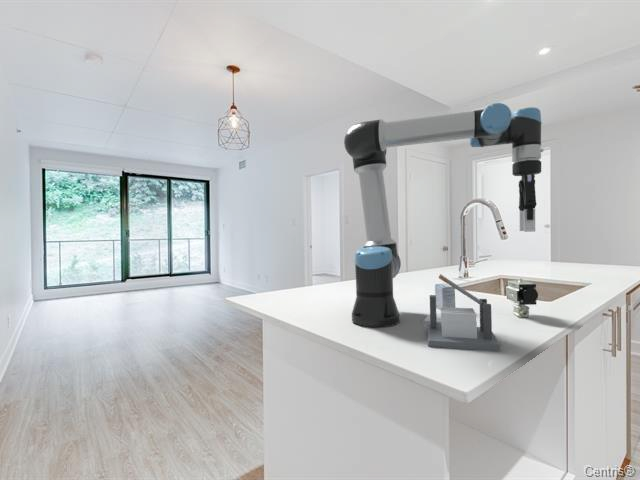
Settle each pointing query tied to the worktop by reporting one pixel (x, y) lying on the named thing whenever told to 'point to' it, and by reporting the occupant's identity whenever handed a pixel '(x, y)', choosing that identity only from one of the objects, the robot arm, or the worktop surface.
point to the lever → (462, 290)
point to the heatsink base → (462, 341)
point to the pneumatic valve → (521, 296)
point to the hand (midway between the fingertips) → (526, 231)
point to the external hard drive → (438, 318)
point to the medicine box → (445, 296)
